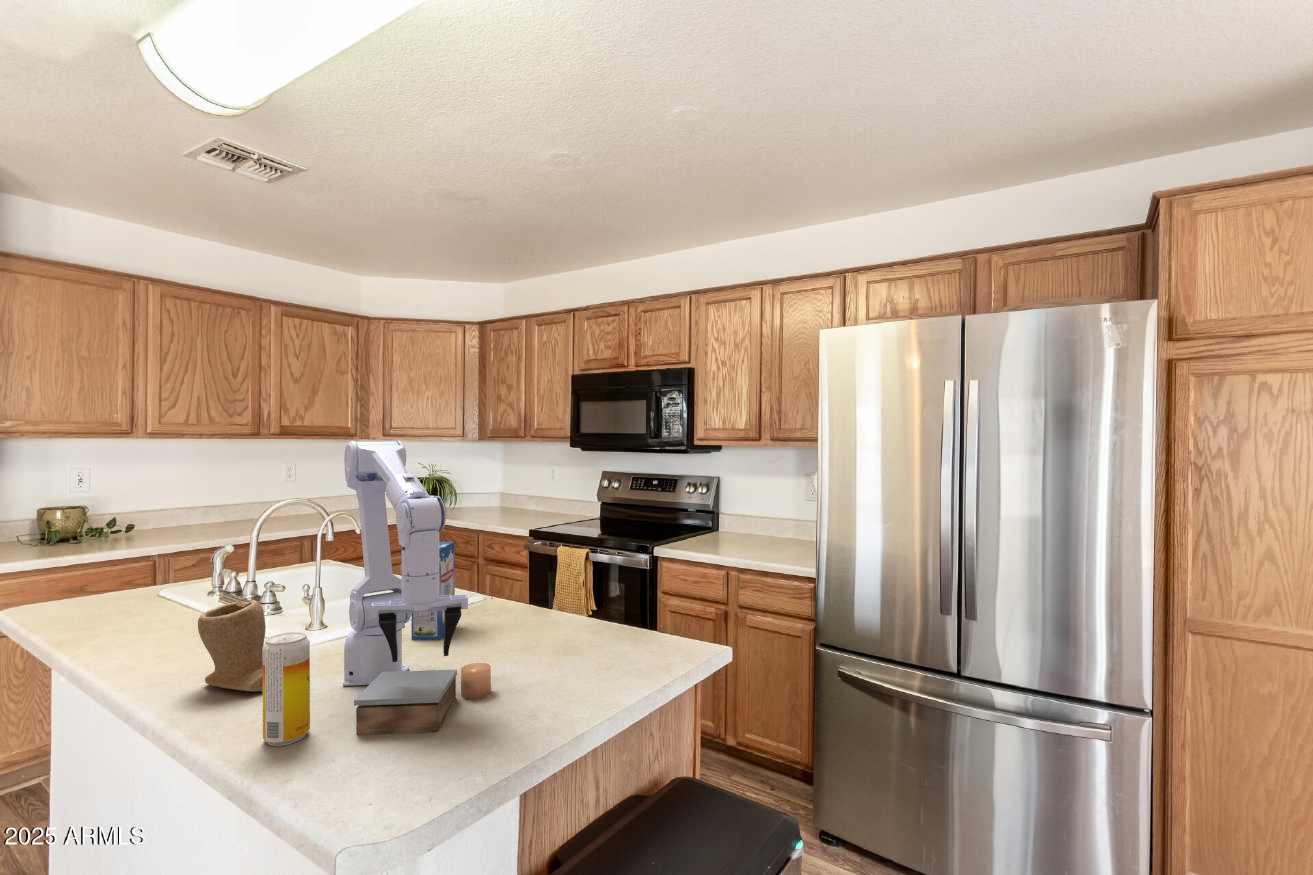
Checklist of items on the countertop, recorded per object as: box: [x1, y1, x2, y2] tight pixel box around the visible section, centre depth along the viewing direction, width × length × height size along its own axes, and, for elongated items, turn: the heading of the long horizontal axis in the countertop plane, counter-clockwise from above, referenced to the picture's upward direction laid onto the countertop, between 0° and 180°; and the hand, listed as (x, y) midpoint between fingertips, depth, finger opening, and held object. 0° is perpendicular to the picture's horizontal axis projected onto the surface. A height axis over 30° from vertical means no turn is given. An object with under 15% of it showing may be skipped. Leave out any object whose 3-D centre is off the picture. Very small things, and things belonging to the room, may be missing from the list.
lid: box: [353, 668, 458, 707], centre depth 102 cm, size 12×12×1 cm
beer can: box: [262, 631, 311, 747], centre depth 95 cm, size 6×6×15 cm
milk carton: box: [411, 541, 456, 641], centre depth 144 cm, size 10×6×20 cm, turn 179°
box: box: [355, 676, 457, 736], centre depth 102 cm, size 12×12×4 cm
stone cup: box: [197, 599, 267, 692], centre depth 114 cm, size 15×12×15 cm
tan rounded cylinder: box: [460, 662, 492, 701], centre depth 111 cm, size 5×5×4 cm
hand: (420, 656), depth 102 cm, fingers open, 7 cm apart
